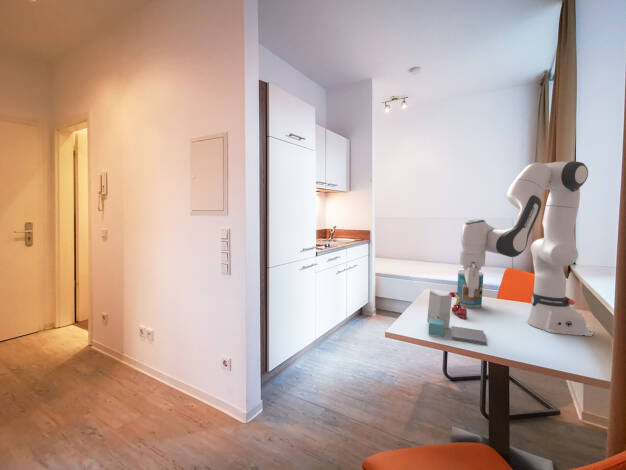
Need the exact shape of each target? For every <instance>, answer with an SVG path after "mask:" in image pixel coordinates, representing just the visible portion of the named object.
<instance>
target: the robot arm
mask: <svg viewBox="0 0 626 470" xmlns="http://www.w3.org/2000/svg"><path fill="white" fill-rule="evenodd" d="M588 177H589V168H588V167H587V165H586V164H585V163H584V162H581V161H576V160H575V161H574V160H571V161H554V162H547V163H543V162H533V163H530V164H528V165H527V166H525V168H523V170H521V172H520V173H519V174H518V175H517V176H516V178H515V179H514V181H513V182H512V184H511V185H510V187H509V188H508V189H507V190H508V191H507V194H506V195H507V199H508V202H509V203H510V204H511V205H513V206H514V207H515V208H517V209H518V210H520V211H519V214H518V215H517V217H516V220H515V222H514V224H513V226H512V227H510V228H507V229H505V228H504V229H503V228H495V227H493V226H492V225H490V224H488V223H487V222H486V220H484V219H471V220H468V221H466V222H464V224H463V226H462V230H461V237H460V238H461V239H460V241H461V242H460V243H461V250H460V258H459V264H460V265H461V266H462V269H463V270H464V275H465V280H466V283H467V287H468V288H469V292H468V296H469V297H472V298H473V297H474V291H475V289H478V286H479V272H480V271H481V270H482V267H485V266H486V254H487V253H486V252H490V253H493V254H499V255H502V256H506V257H509V258H516V257H518V256H520V255H521V254H523V252H524V251H526V248H527V246H528V241H529V237H530V234H531V232H532V230H533V227H534V225H535V223H536V221H537V220H538V217H539V215H540V213H541V209H542V200H541V199H540V198H541V196H543V194H544V191H545V190H549V193H548V196H547V200H546V204H545V209H544V213H543V217H542V228H543V237H541V238H537V239H535V240H534V241H533V242H532V243H531V245H530V252H531V255H532V265H533V271H534V272H533V273H534V283H533V284H534V285H533V291H532V295H531V302H530V303H531V308H530V309H531V310H530V313H529V316H528V318H527V321H526V322H527V324H528V325H530V326H532V327H533V328H537V329H540V330H544V331H546V332H548V333H551V334H561V335H569V336H570V335H571V336H582V335H585V336H584V337H593V336H594V332H593V330H592V329H591V328H590V327H588V326H587V321H586V319H585V317H584V316H583V315H582V314H581V313H580V312H579V311H577V310H576V309H575V308H574V307H572V306H574V305H575V303H576V302H575V300H573V299H571V298H569V297H567V296H566V291H567V289H566V287H567V277H566V274H565V271H564V267H567V266H570V265H573V264H574V263H576V261H578V257H579V252H578V249H577V247H576V237H575V236H576V235H575V234H576V233H575V232H576V231H575V227H576V222H577V216H578V211H579V206H580V200H581V199H580V198H581V197H580V196H581V190H580V189H581V187H582V186H583V185H584V184H585V182H586V181H587V179H588ZM592 335H593V336H592Z"/></svg>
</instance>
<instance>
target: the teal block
mask: <svg viewBox="0 0 626 470" xmlns="http://www.w3.org/2000/svg"><path fill="white" fill-rule="evenodd" d="M443 324H444V321H443V320H436V319H429V322H428V332H427V333H428V334H429V336H436V337H440V338H441V337H442V338H443V337H444V328H443Z"/></svg>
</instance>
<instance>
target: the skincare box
mask: <svg viewBox="0 0 626 470" xmlns="http://www.w3.org/2000/svg"><path fill="white" fill-rule="evenodd" d="M452 299H453V297H452V295H450V294H449V293H448V292H445V291H443V290H440V289H435V290H430V291H429V298H428V309H427V310H428V311H427V318H426V319H427V320H426V321H427V323H429V319H436V320H443V321H444V324H443V329H446V328H450V321H451V319H450V318H451V311H452Z"/></svg>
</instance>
